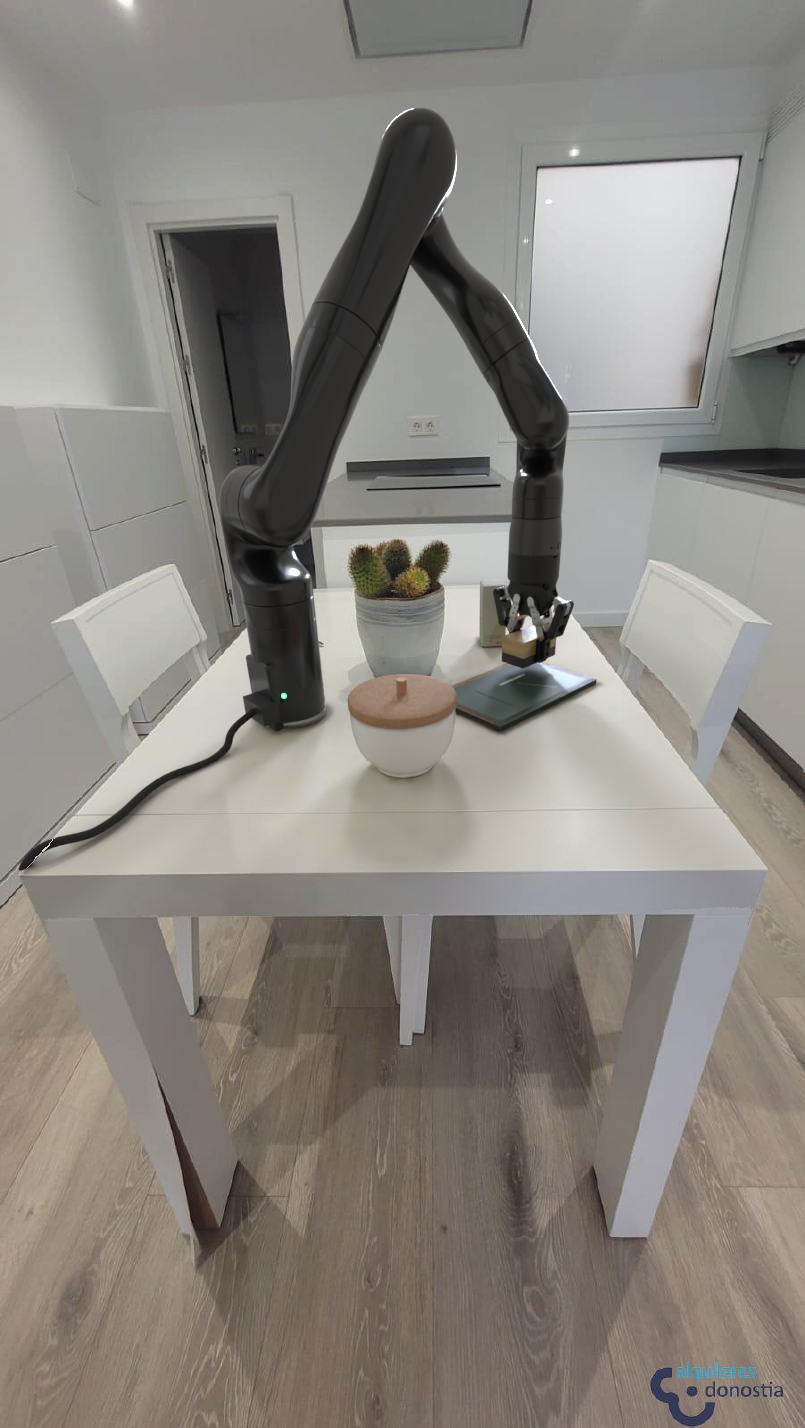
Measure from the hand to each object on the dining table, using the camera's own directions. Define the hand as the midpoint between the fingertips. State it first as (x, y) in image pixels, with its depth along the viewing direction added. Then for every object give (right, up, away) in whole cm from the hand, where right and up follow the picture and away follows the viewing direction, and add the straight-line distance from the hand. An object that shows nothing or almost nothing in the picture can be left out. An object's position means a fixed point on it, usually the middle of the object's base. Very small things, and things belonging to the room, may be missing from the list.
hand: (528, 656), depth 94 cm
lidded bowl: (-20, -15, -22) cm, 33 cm away
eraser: (0, 0, 0) cm, 0 cm away
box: (-4, +4, +15) cm, 16 cm away
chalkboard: (-3, -6, -5) cm, 8 cm away
